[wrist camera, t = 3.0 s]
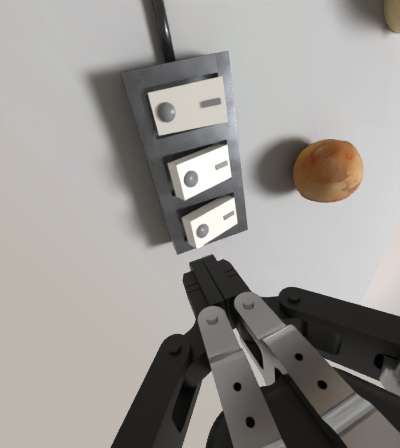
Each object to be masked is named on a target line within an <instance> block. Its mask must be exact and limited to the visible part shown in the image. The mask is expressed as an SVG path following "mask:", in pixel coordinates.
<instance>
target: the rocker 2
mask: <svg viewBox="0 0 400 448" xmlns="http://www.w3.org/2000/svg"><path fill="white" fill-rule="evenodd" d="M182 221H183V224H184V228H185V232H186V236H187V239H188V243H189V244H190V245H191V246H193V247H194V248H196V249H198V248H200V247H201V246H203V245H204V244H206V243H207V242H209V241H211V240H212V239H214V238H215V237H217V236H219V235H220V234H222V233H223V232H225V231H226V230H228V229H230V228H231V227H233V226H234V225H236V224H237V215H236V207H235V200H234V197H231V196H228V195H223V196H221V197H219V198H217V199H216V200H214V201H212V202H210V203H208V204H206V205H204V206H202V207H201V208H199V209H197V210H195V211H193V212H191V213H189V214H188V215H186V216H184V217H182Z"/></svg>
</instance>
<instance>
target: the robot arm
mask: <svg viewBox="0 0 400 448" xmlns="http://www.w3.org/2000/svg"><path fill="white" fill-rule="evenodd" d="M189 265H190V269H191V271H190V272H188V273H185V274H184V276H183V284H184V287H185V290H186V293H187V296H188V299H189V302H190V305H191V307H192V310H193V312H194V315H195V318H196V321H195V324H194V326H193V327H192V328H191V329H190V330H189V331H188V332H187V333H186V334H185V335H182V334H174V335H171V336H169V337H168V338H166V339H165V340H164V341H163V343H162V344H161V346H160V348H159V350H158V352H157V355H156V356H155V358H154V361H153V362H152V364H151V366H150V368H149V371H148V373H147V375H146V377H145V379H144V381H143V383H142V385H141V387H140V389H139V391H138V393H137V395H136V397H135V399H134V401H133V403H132V405H131V407H130V409H129V411H128V413H127V415H126V417H125V419H124V421H123V424H122V425H121V427H120V429H119V432H118V434H117V435H116V438H115V440H114V442H113V444H112V446H111V448H182V445H183V442H184V438H185V435H186V432H187V429H188V426H189V422H190V419H191V416H192V413H193V409H194V406H195V403H196V400H197V396H198V393H199V390H200V387H201V383H202V379H203V378H205V377H206V376H207V374H209V373H210V372H211V371H212V373H213V376H214V380H215V383H216V387H217V391H218V394H219V397H220V401H221V405H222V408H223V411H222V412H221V413H220V414H219V416H218V417H217V418H216V420H215V422H214V423H213V426H212V428H211V430H210V433H209V436H208V439H207V444H206V448H400V316H396V315H393V314H389V313H385V312H382V311H378V310H375V309H371V308H368V307H364V306H361V305H357V304H354V303H350V302H347V301H343V300H339V299H336V298H332V297H329V296H325V295H322V294H318V293H315V292H311V291H308V290H304V289H300V288H297V287H287V288H285V289H283V290H282V291H281V292H280V293H279V296H276V297H260V296H259V295H257V294H255V293H253V292H251V291H250V289H249V288H248V286H247V285H246V284H245V282H244V281H243V280H242V278H241V277H240V276H239V274H238V273H237V271H236V270H235V269H234V267H233V266H232V265H231V263H230V262H228V261H226V260H224V259H222V260H220V261H217V260H216V258H215V257H214V255H213V254H211V255H209V256H206V257H203V258H201V259H198V260H195V261H192V262H190V263H189ZM235 328H236V329H237V330H238V332H239V335H240V340H241V342H242V344H243V345H244V347H245V349H246V350H247V352H248V353H249V355H250V356H251V358H252V359H253V361H254V363H255V364H256V366H257V367H258V369H259V370H260V372H261V373H262V375H263V378H264V380H265V383H266V385H267V386H263V387H259V385H258V383H257V381H256V378H255V376H254V373H253V371H252V369H251V366H250V364H249V362H248V360H247V357H246V355H245V353H244V351H243V349H242V348H240V346H239V344H238V341H237V339H236V337H235V334H234V332H233V329H235ZM324 358H325V359H327V360H330V361H332V362H335V363H337V364H340V365H342V366H344V367H347V368H349V369H352V370H354V371H357V372H359V373H361V374H364V375H366V376H369V377H371V378H373V379H376V380H378V381H381V383H382V385H383V386H384V388H385V389H386V390H385V389H383V388H380V387H378V386H376V385H374V384H372V383H369V382H368V381H365V380H363V379H361V378H359V377H357V376H354V375H352V374H350V373H348V372H346V371H343V370H341V369H338V368H335V367H332V366H330V365H329V363H328V362H327V361H326V360H325V359H324Z"/></svg>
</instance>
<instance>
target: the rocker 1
mask: <svg viewBox="0 0 400 448" xmlns="http://www.w3.org/2000/svg"><path fill="white" fill-rule="evenodd" d="M148 96H149V100H150V104H151V107H152V111H153V115H154V119H155V122H156V126H157V130H158V134H159V136H160V135H165V134H170V133H175V132H180V131H185V130H190V129H195V128H200V127H205V126H210V125H215V124H220V123H225V122H228V117H227V109H226V101H225V93H224V84H223V76H221V77H216V78H212V79H207V80H203V81H199V82H194V83H190V84H185V85H181V86H176V87H172V88H167V89H163V90H158V91H154V92H150V93H148Z"/></svg>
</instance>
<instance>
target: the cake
mask: <svg viewBox="0 0 400 448" xmlns="http://www.w3.org/2000/svg"><path fill="white" fill-rule="evenodd" d="M383 10H384V16H385V21H386V23H387V25H388V27H389V29H390V30H392V31H393V32H395V33H400V0H384V7H383Z"/></svg>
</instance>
